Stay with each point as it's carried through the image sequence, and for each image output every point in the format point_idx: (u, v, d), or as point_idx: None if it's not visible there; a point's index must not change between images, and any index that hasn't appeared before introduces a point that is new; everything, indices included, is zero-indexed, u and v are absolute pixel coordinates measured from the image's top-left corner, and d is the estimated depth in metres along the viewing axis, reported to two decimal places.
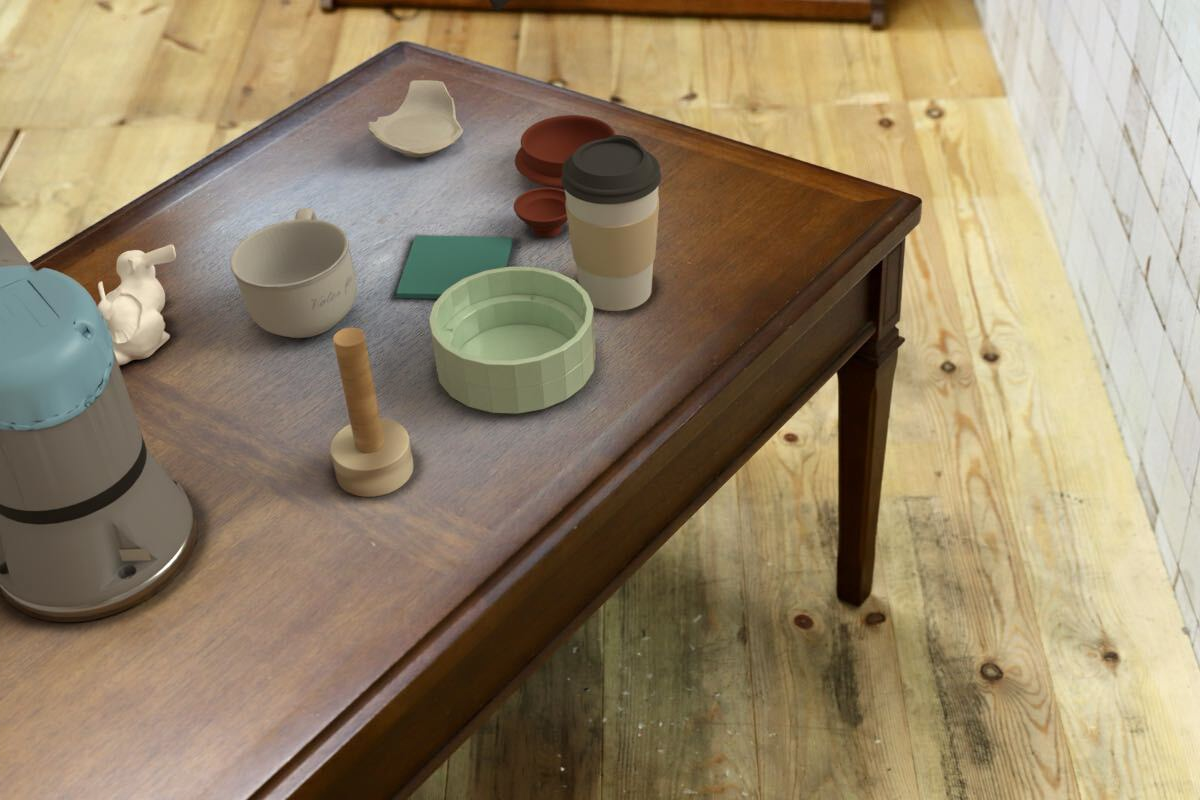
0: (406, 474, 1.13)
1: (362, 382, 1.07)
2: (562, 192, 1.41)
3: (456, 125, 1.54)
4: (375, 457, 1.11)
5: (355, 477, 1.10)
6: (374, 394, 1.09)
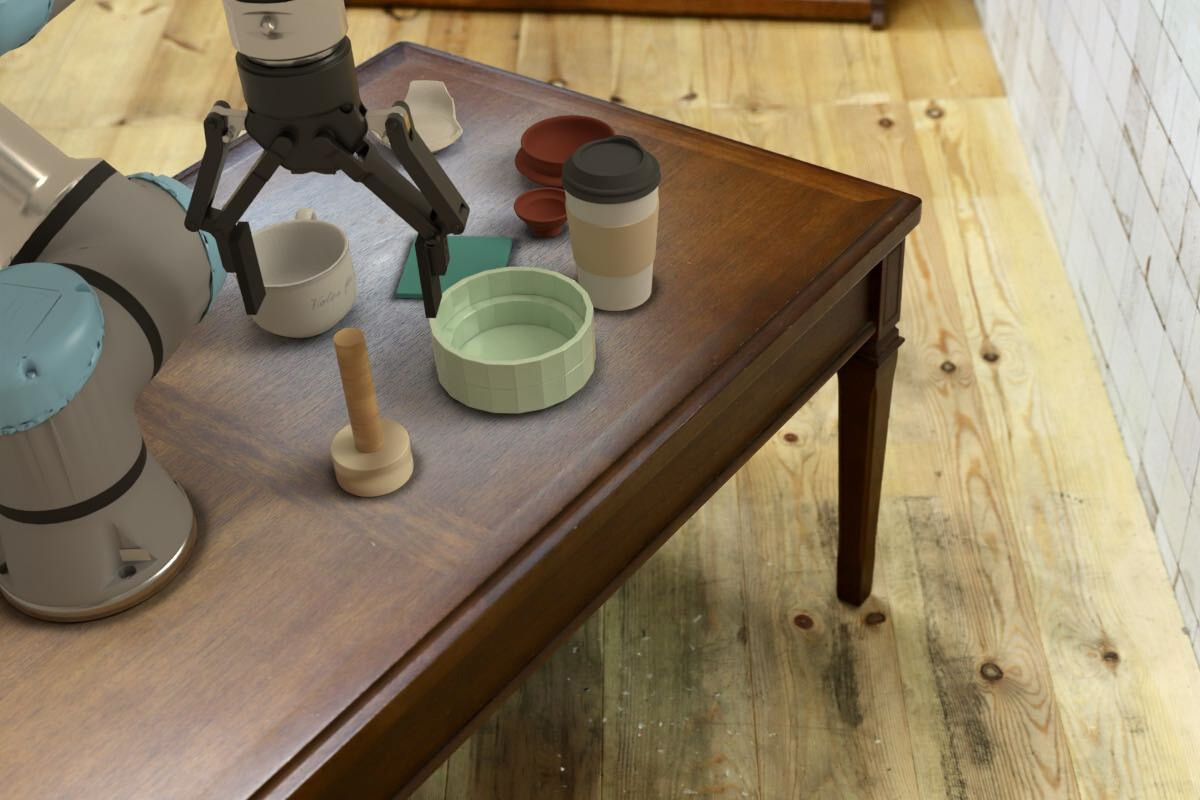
0: (406, 474, 1.13)
1: (362, 382, 1.07)
2: (562, 192, 1.41)
3: (456, 125, 1.54)
4: (375, 457, 1.11)
5: (355, 477, 1.10)
6: (374, 394, 1.09)
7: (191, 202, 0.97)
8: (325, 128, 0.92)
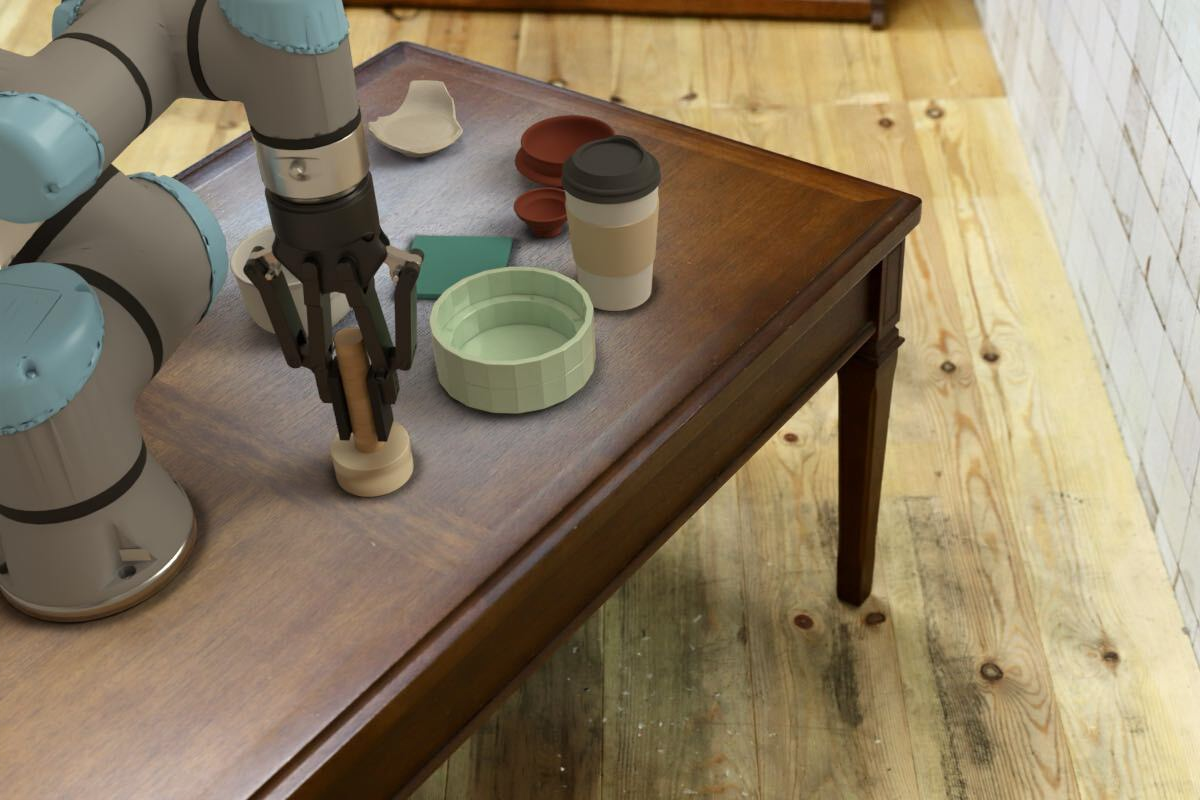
0: (406, 474, 1.13)
1: (362, 382, 1.07)
2: (562, 192, 1.41)
3: (456, 125, 1.54)
4: (375, 457, 1.11)
5: (355, 477, 1.10)
6: None
7: (280, 344, 1.05)
8: (348, 254, 0.99)
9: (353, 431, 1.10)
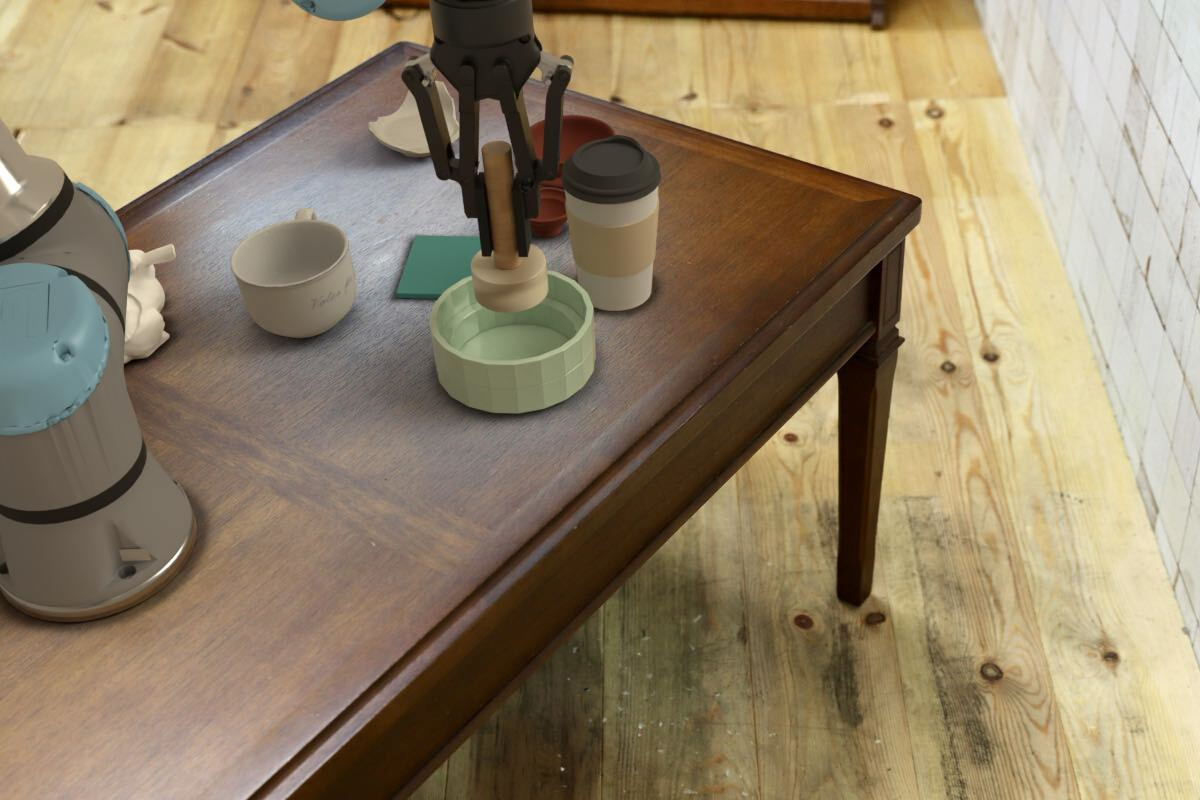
0: (543, 292, 1.17)
1: (507, 195, 1.11)
2: (562, 192, 1.41)
3: (456, 125, 1.54)
4: (515, 273, 1.15)
5: (496, 292, 1.15)
6: None
7: (431, 154, 1.09)
8: (503, 57, 1.03)
9: (494, 247, 1.15)
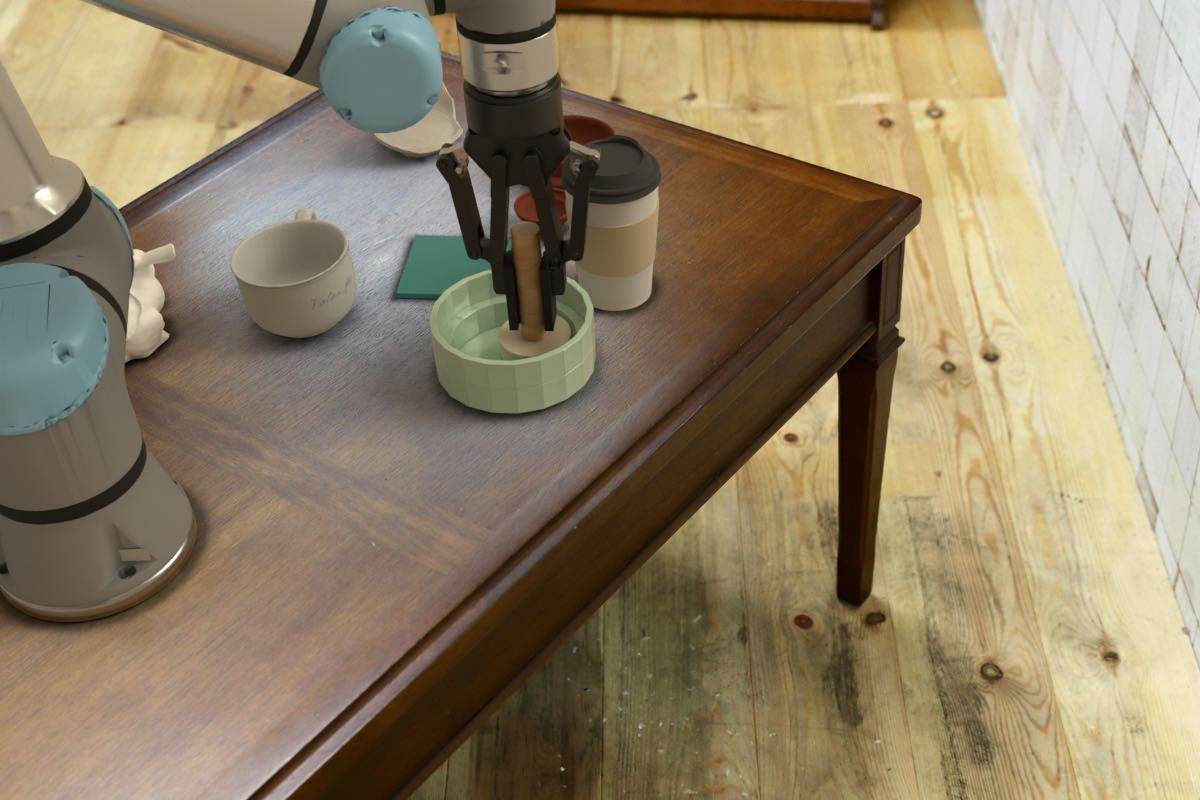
0: None
1: (535, 273, 1.16)
2: (562, 192, 1.41)
3: (456, 125, 1.54)
4: (542, 345, 1.20)
5: None
6: None
7: (463, 235, 1.14)
8: (534, 148, 1.08)
9: (522, 321, 1.19)
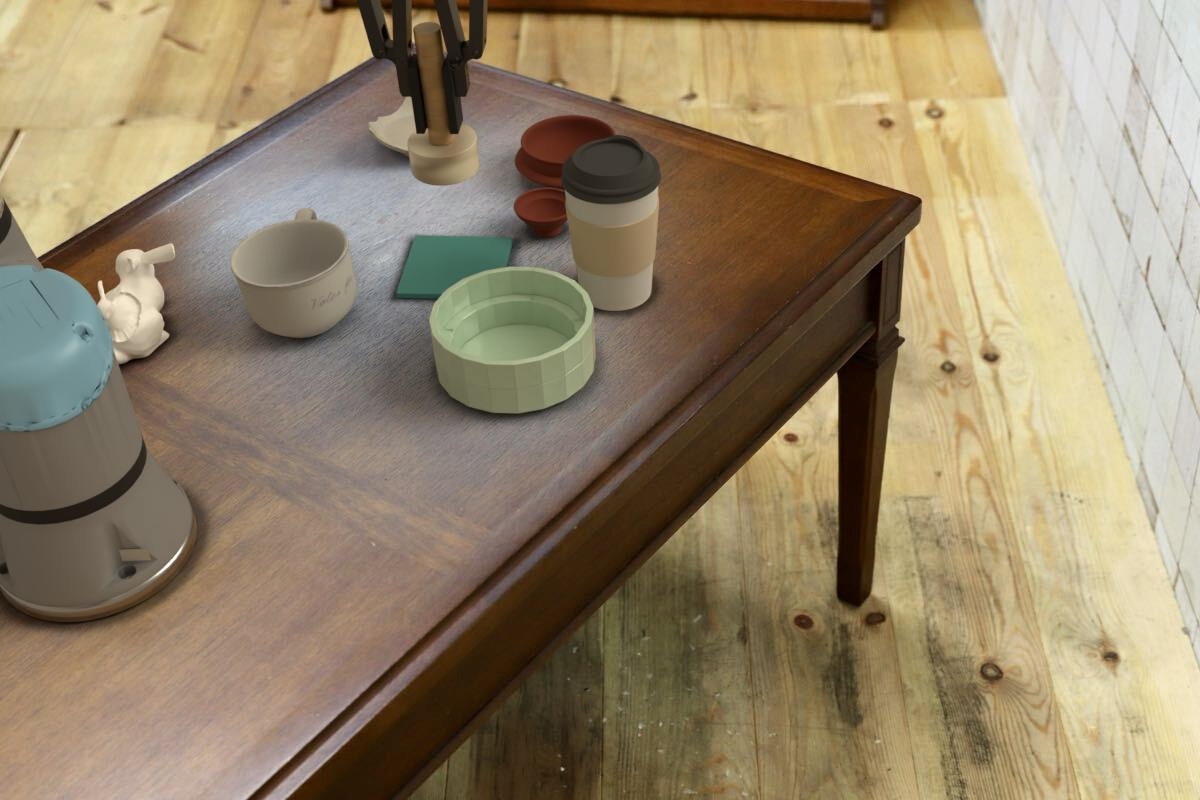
0: (475, 167, 1.27)
1: (438, 72, 1.21)
2: (562, 192, 1.41)
3: None
4: (448, 148, 1.25)
5: (431, 165, 1.25)
6: None
7: (367, 34, 1.19)
8: None
9: (428, 124, 1.25)
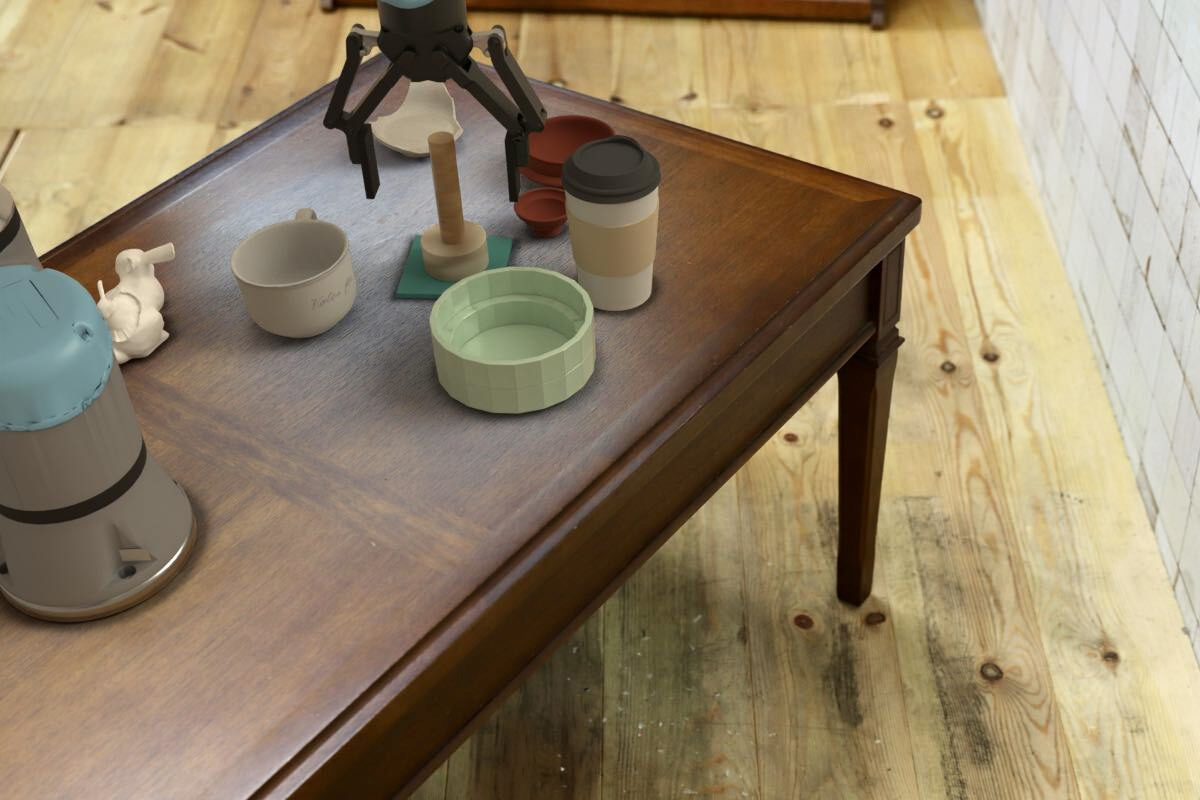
0: (484, 263, 1.34)
1: (451, 178, 1.28)
2: (562, 192, 1.41)
3: (456, 125, 1.54)
4: (459, 247, 1.32)
5: (443, 263, 1.32)
6: (459, 191, 1.30)
7: (330, 104, 1.24)
8: (440, 45, 1.19)
9: (441, 225, 1.32)
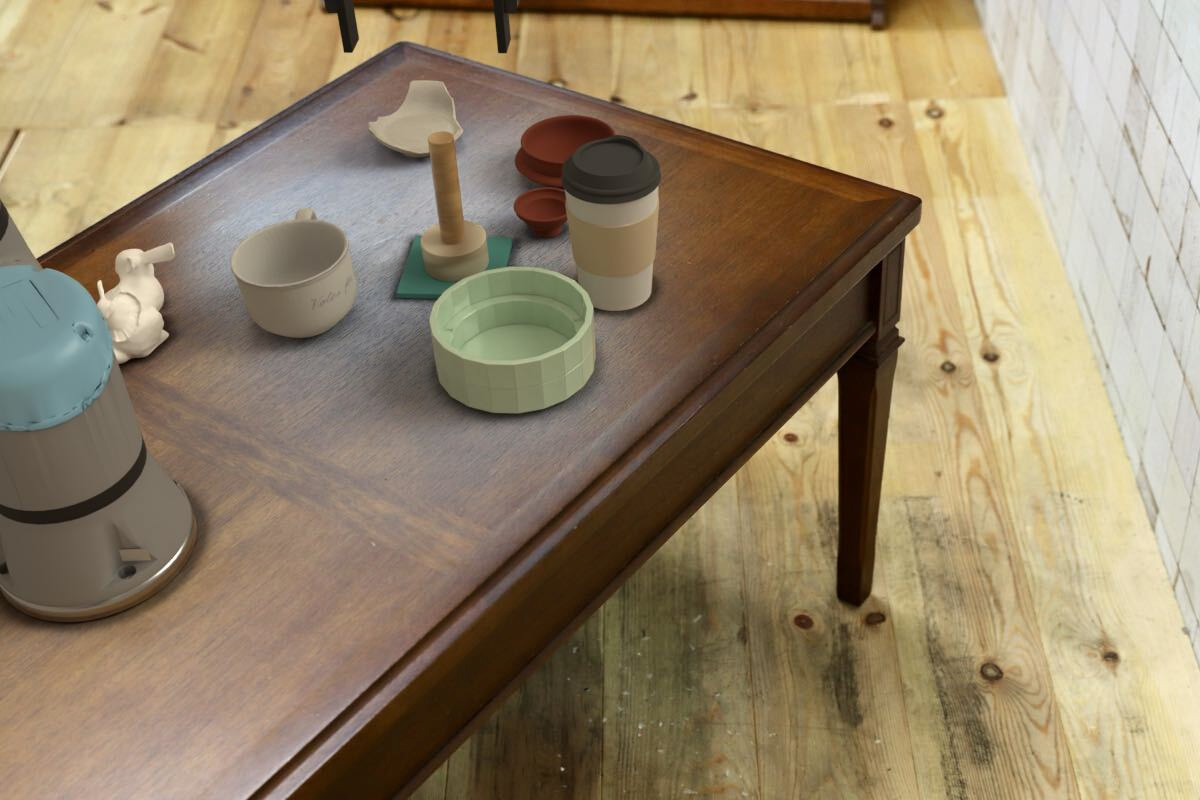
0: (484, 263, 1.34)
1: (451, 178, 1.28)
2: (562, 192, 1.41)
3: (456, 125, 1.54)
4: (459, 247, 1.32)
5: (443, 263, 1.32)
6: (459, 191, 1.30)
7: None
8: None
9: (441, 225, 1.32)
